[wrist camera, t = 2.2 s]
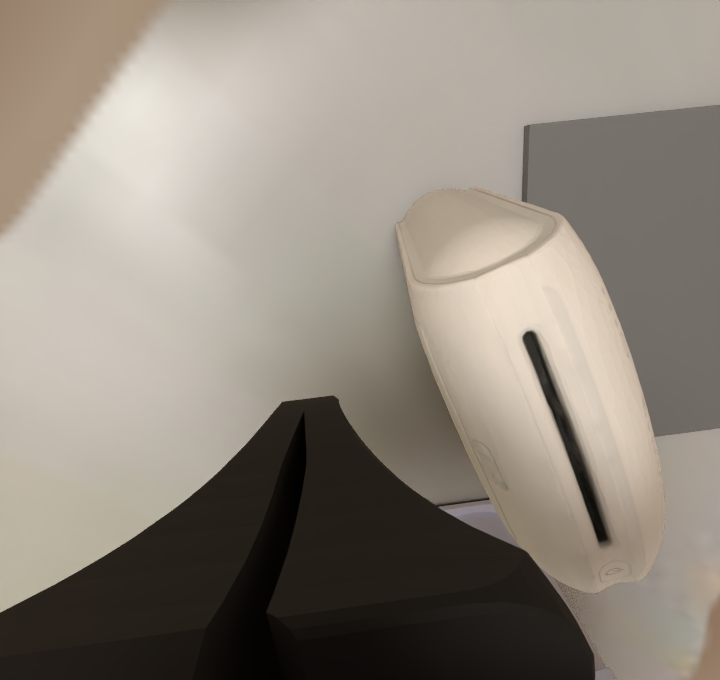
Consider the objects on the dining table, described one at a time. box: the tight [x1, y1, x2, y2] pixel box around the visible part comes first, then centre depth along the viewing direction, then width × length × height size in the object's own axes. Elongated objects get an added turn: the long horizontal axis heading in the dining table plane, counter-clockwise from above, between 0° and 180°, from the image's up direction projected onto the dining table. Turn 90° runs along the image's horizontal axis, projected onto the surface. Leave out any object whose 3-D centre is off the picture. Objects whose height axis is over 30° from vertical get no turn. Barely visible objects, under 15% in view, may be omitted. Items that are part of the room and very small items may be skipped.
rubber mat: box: [522, 105, 720, 437], centre depth 21 cm, size 16×14×1 cm
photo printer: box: [395, 187, 665, 593], centre depth 14 cm, size 10×4×12 cm, turn 26°
